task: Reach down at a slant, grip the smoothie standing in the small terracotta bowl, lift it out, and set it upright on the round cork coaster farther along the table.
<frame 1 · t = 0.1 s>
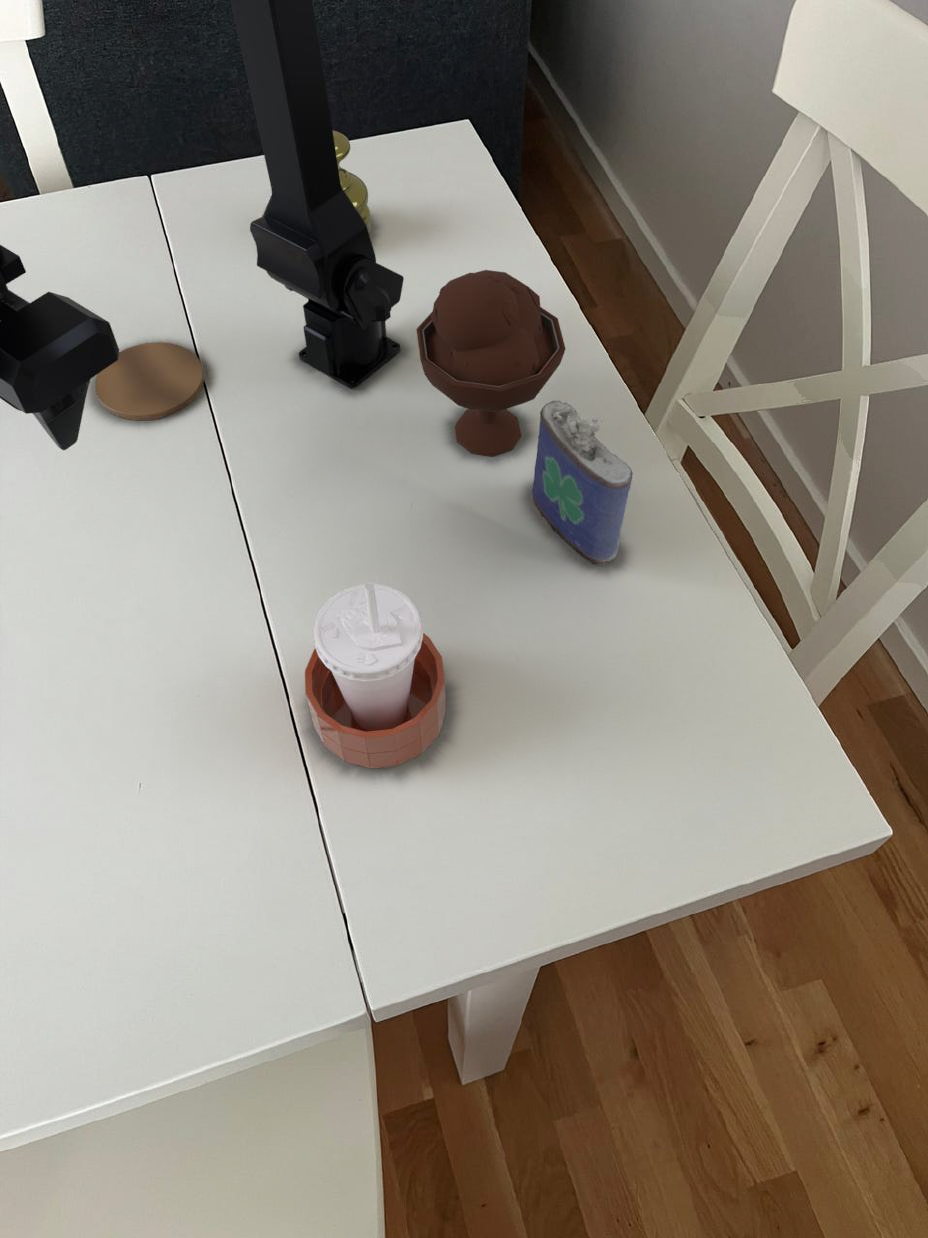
hand: (20, 412, 61), 15 cm above the table, tool pointing down, fingers open, 9 cm apart
coaster: (150, 382, 84), on the table
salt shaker: (333, 235, 95), on the table
flask: (571, 526, 75), on the table
bowl: (379, 710, 66), on the table
smoothie: (379, 709, 65), resting on bowl
ice cream bowl: (487, 433, 80), on the table
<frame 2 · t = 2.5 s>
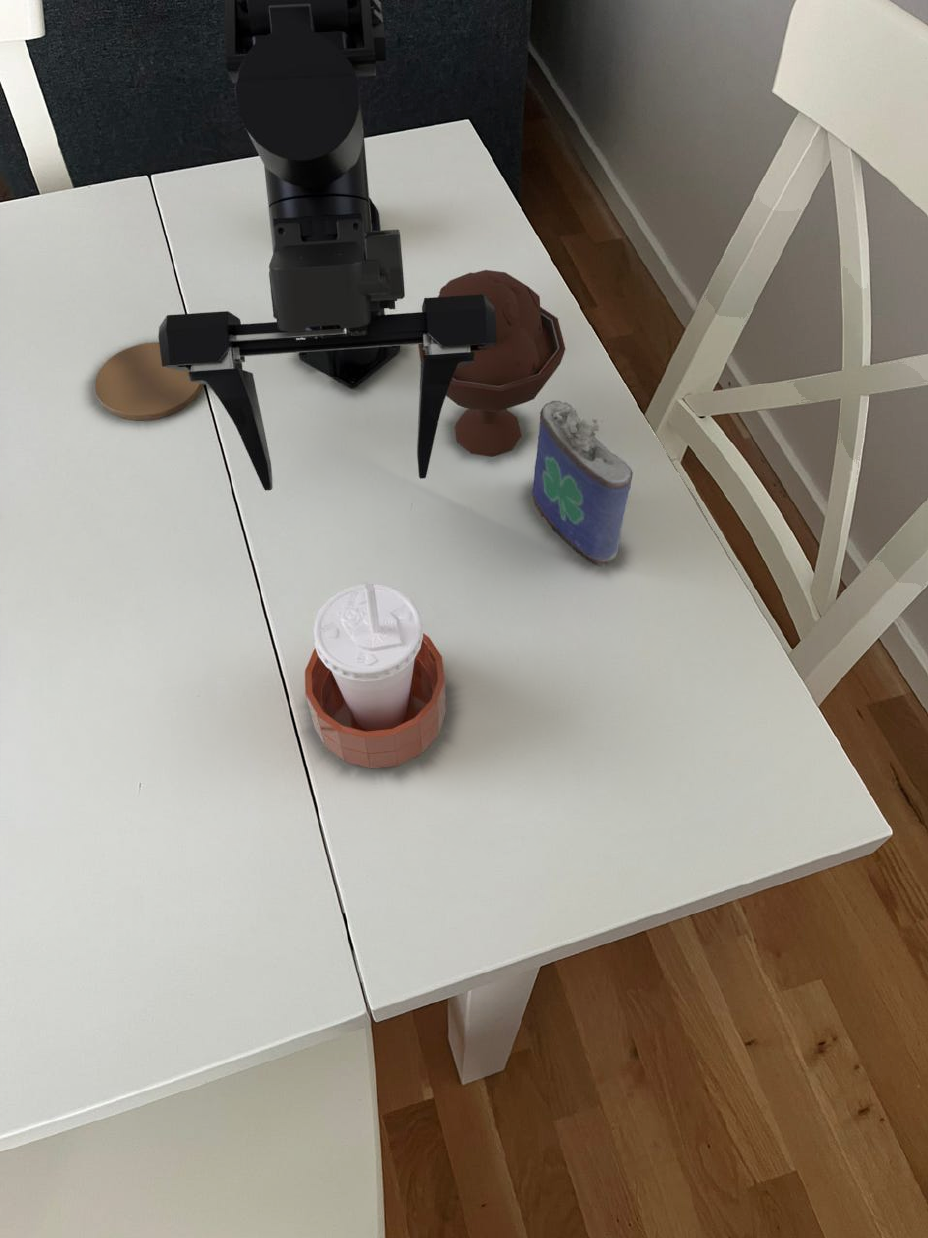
hand: (345, 483, 59), 13 cm above the table, tool tilted 45°, fingers open, 9 cm apart
nothing on the table moved.
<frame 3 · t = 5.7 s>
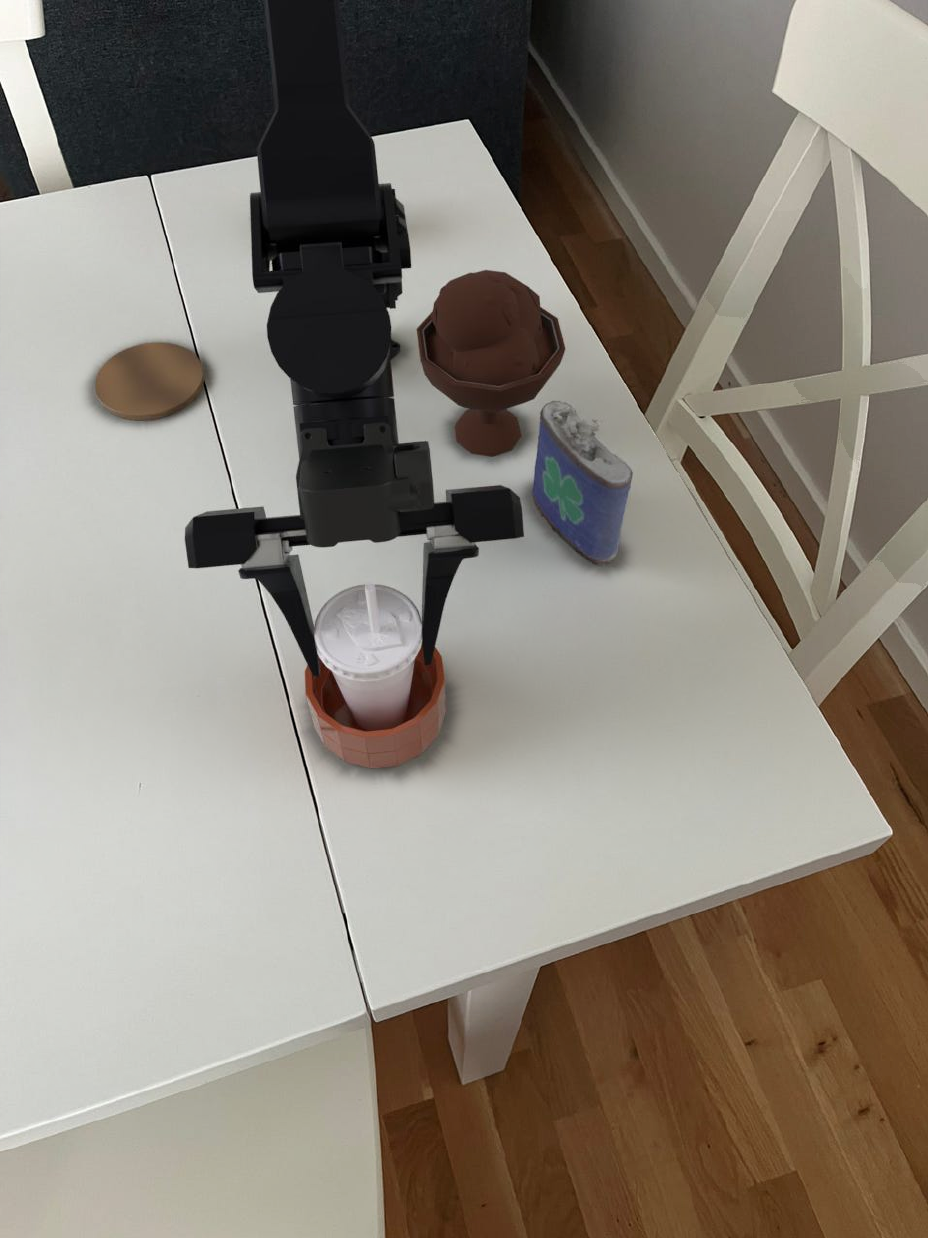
hand: (372, 669, 59), 7 cm above the table, tool tilted 45°, fingers closed on smoothie, 6 cm apart
smoothie: (379, 709, 65), resting on bowl, touching gripper
everything else where it was.
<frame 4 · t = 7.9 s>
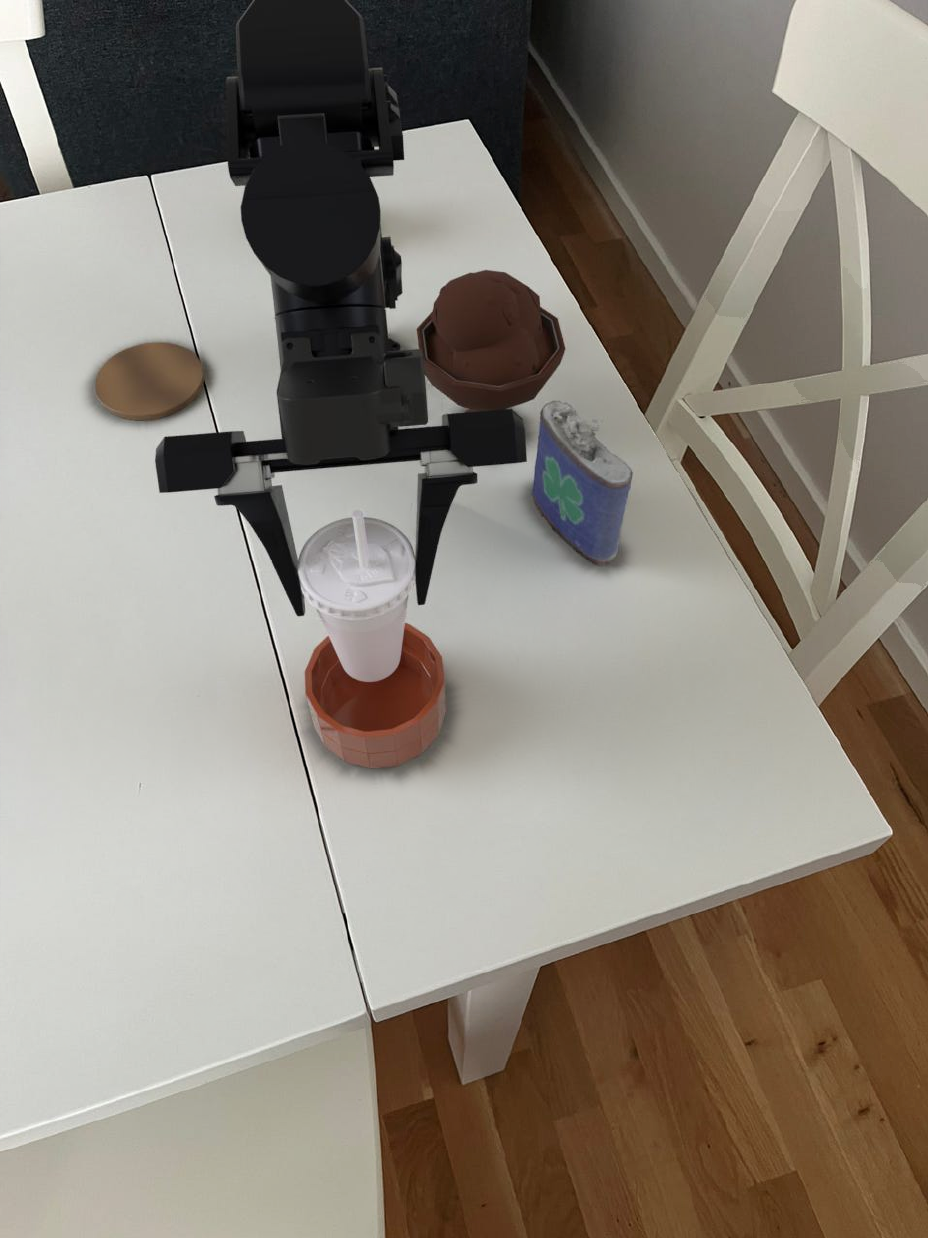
hand: (360, 609, 54), 13 cm above the table, tool tilted 45°, fingers closed on smoothie, 6 cm apart
smoothie: (370, 657, 61), point 6 cm above the table, touching gripper
everything else where it was.
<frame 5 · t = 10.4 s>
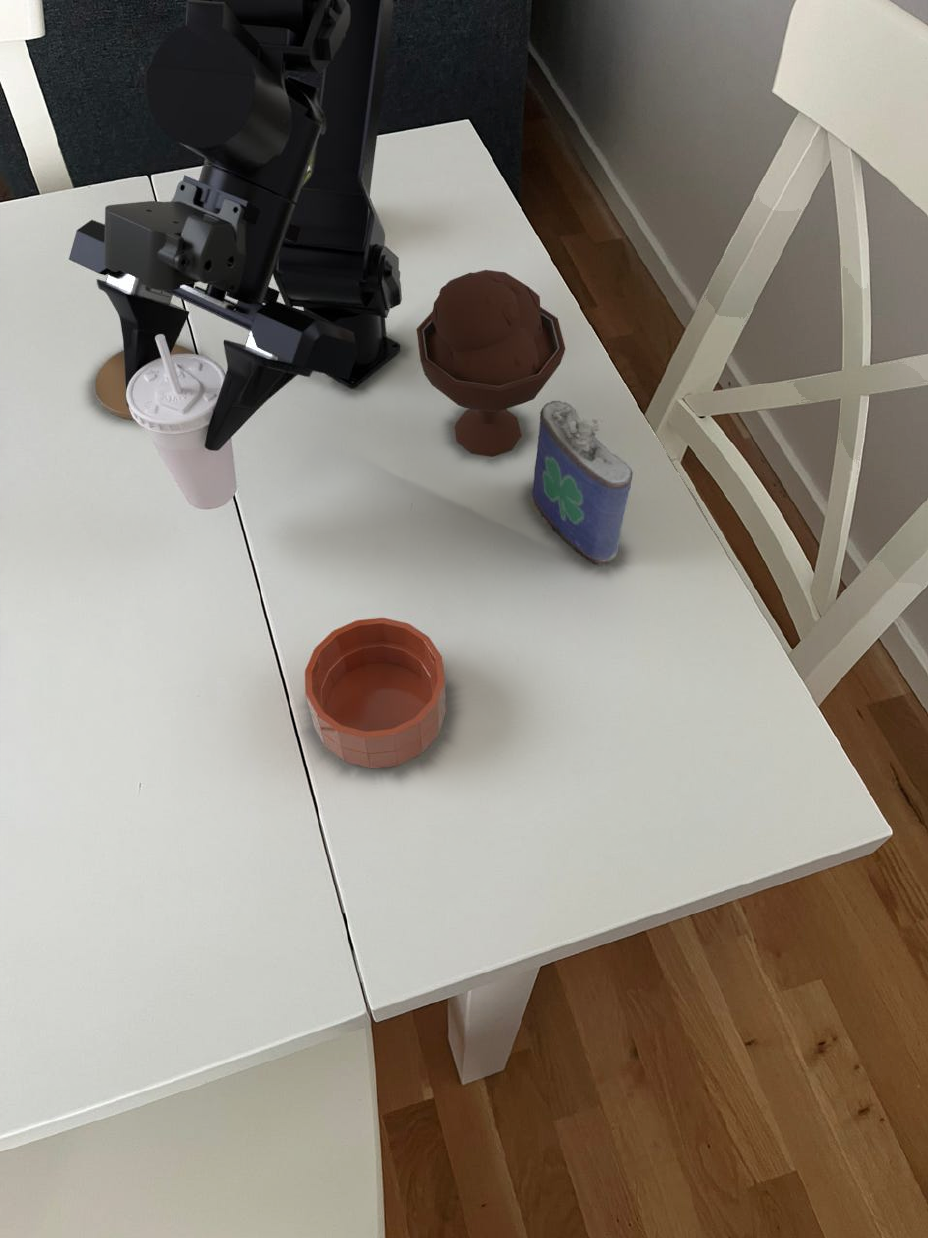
hand: (171, 429, 63), 12 cm above the table, tool tilted 45°, fingers closed on smoothie, 6 cm apart
smoothie: (211, 491, 70), point 5 cm above the table, touching gripper
everything else where it was.
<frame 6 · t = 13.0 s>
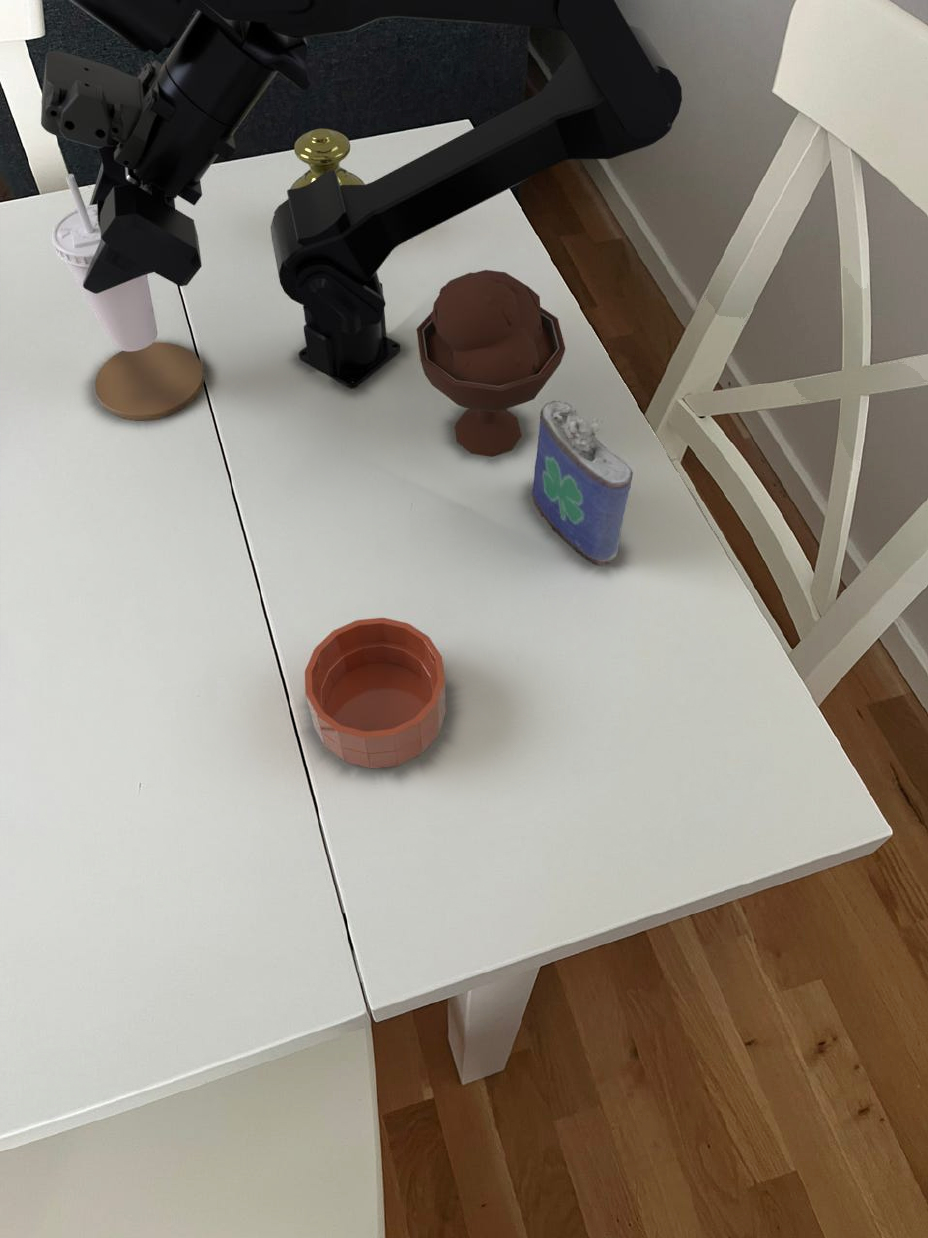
hand: (88, 261, 73), 12 cm above the table, tool tilted 45°, fingers closed on smoothie, 6 cm apart
smoothie: (135, 337, 79), point 5 cm above the table, touching gripper
everything else where it was.
when the fingers open (8 cm above the table, at t = 15.2 s): smoothie stays where it is, resting on coaster.
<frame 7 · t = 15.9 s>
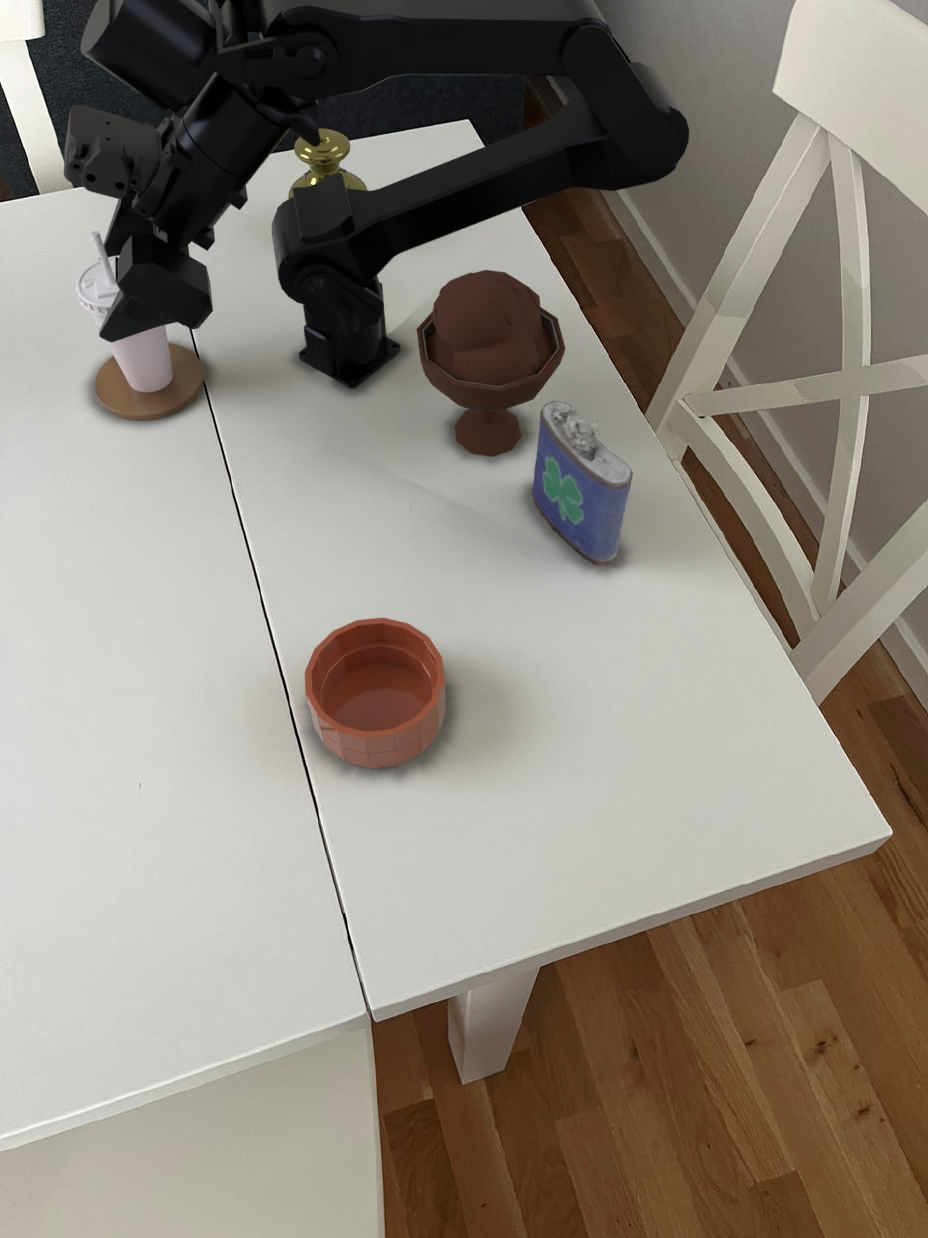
hand: (104, 299, 76), 9 cm above the table, tool tilted 45°, fingers open, 9 cm apart
smoothie: (151, 378, 83), resting on coaster
everything else where it was.
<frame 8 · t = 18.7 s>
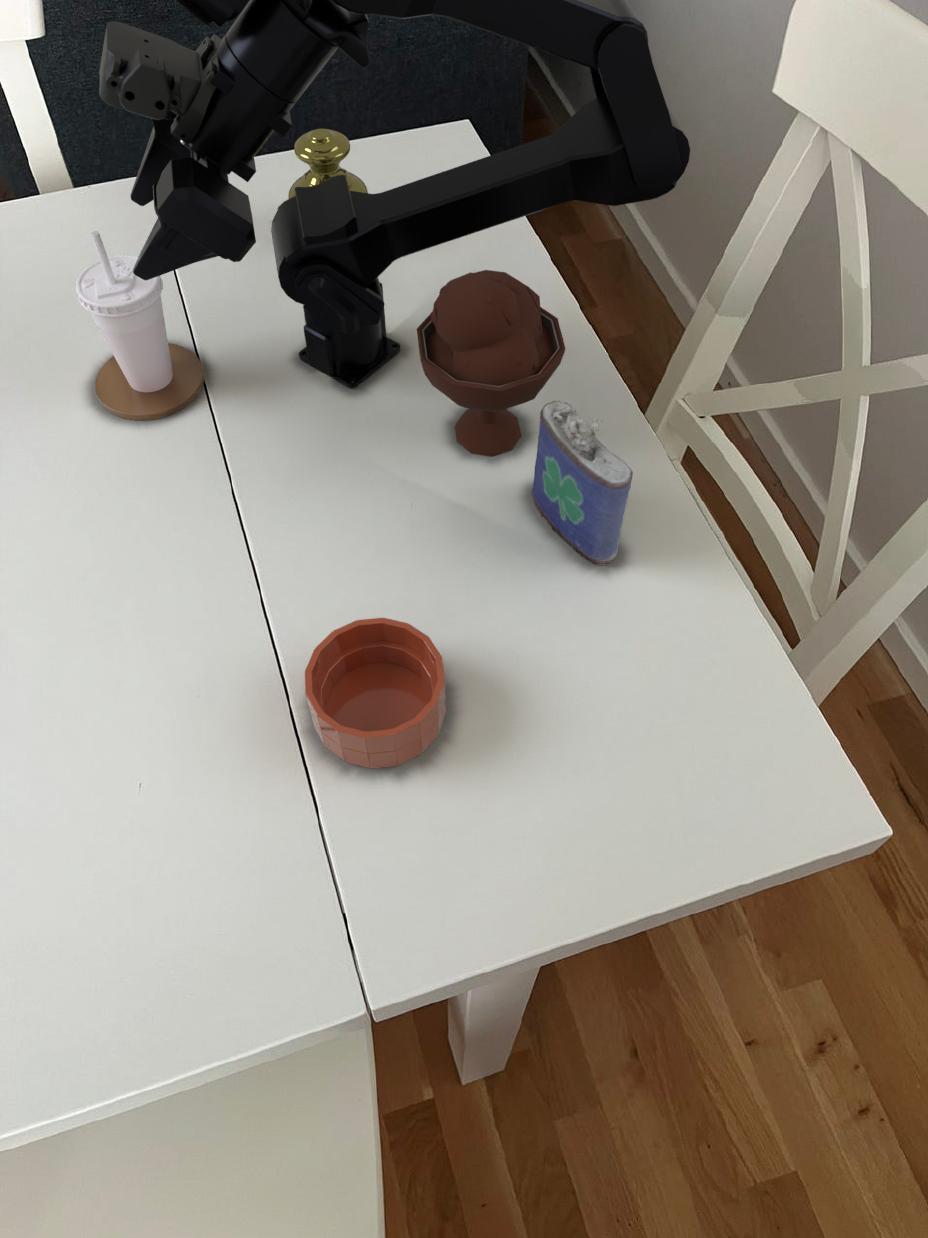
hand: (137, 237, 73), 14 cm above the table, tool tilted 45°, fingers open, 9 cm apart
nothing on the table moved.
at the end: smoothie 0.1 cm off-centre on the coaster, point 0.4 cm above the coaster's base; smoothie tilted 0°; smoothie touching coaster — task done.
